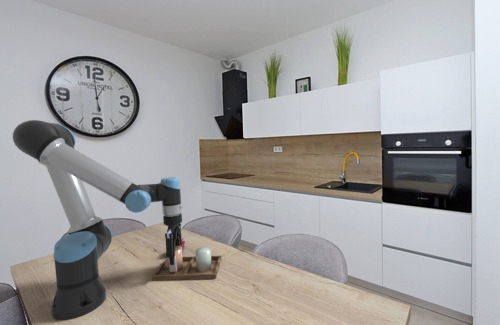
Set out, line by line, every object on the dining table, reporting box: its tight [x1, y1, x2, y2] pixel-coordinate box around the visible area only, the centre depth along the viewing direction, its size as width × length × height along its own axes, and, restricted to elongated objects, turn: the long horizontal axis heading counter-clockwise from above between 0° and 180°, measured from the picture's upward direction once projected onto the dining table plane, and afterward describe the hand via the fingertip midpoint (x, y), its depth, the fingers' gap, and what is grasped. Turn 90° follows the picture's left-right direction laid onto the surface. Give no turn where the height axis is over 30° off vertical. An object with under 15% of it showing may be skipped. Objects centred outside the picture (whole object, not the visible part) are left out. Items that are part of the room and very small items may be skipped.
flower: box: [181, 238, 186, 255], centre depth 120 cm, size 10×9×8 cm
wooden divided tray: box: [151, 255, 222, 282], centre depth 103 cm, size 17×25×2 cm
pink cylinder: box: [168, 246, 183, 273], centre depth 103 cm, size 6×6×9 cm
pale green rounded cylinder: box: [195, 246, 212, 272], centre depth 103 cm, size 6×6×8 cm
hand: (175, 267), depth 103 cm, fingers closed on pink cylinder, 6 cm apart
